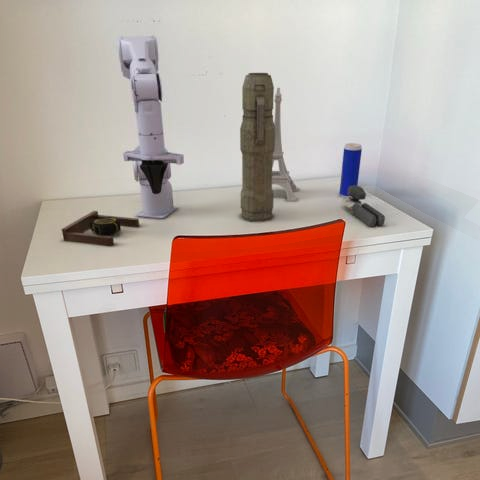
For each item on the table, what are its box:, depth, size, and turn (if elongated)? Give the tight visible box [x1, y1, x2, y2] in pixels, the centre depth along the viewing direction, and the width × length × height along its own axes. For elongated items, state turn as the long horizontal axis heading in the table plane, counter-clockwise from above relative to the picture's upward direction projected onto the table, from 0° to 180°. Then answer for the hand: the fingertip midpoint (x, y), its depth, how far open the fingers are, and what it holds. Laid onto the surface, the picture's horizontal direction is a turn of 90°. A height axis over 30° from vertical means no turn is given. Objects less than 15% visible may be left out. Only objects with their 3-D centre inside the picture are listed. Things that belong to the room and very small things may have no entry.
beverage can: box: [339, 142, 363, 198], centre depth 141 cm, size 5×5×15 cm
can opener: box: [340, 185, 386, 228], centre depth 128 cm, size 19×5×6 cm, turn 13°
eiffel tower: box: [272, 87, 298, 202], centre depth 140 cm, size 13×13×30 cm
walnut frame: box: [61, 210, 140, 247], centre depth 119 cm, size 14×13×3 cm
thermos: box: [239, 72, 275, 223], centre depth 120 cm, size 9×12×35 cm
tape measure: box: [89, 217, 122, 236], centre depth 118 cm, size 7×7×4 cm
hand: (156, 192), depth 114 cm, fingers closed
